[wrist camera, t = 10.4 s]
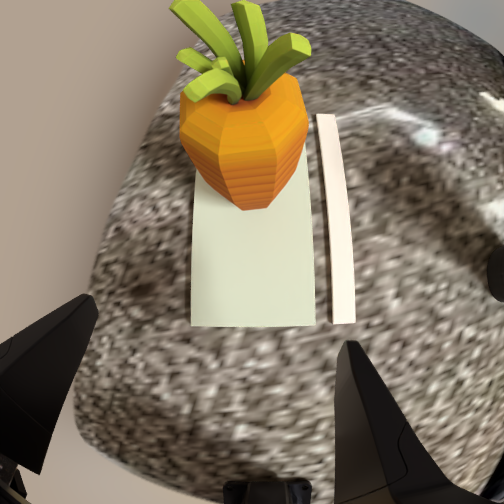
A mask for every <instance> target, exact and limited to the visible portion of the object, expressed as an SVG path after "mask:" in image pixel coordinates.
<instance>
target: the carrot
mask: <svg viewBox="0 0 504 504" xmlns="http://www.w3.org/2000/svg"><path fill="white" fill-rule="evenodd" d="M231 6H232V10H233V13H234V16H235V20H236V23H237V26H238V29H239V32H240V35H241V38H242V42H243V51H244V60H242V58H241V55H240V53H239V51H238V49H237V47H236V45H235V43H234V41H233V39H232V37H231V36H230V34H229V32H228V31H227V30H226V29H225V27H224V26H223V25H222V24H221V22H220V21H219V20H218V19H217V18H216V16H215V15H214V14H213V13H212V12H211V11H210V10H209V9H208V8H207V7H206V6H205V5H204V4H203V3H202V2H201V1H200V0H174V2H173V3H172V4H171V6H170V7H169V9H170V10H171V11H172V12H173V13H174V14H175V15H176V16H177V17H178V18H179V19H180V20H181V21H182V22H183V23H184V24H185V25H186V26H187V27H188V28H189V29H190V30H191V31H193V33H195V34H196V35H197V36H198V37H199V38H200V39H201V40H202V41H203V42H204V43H205V44H206V45H207V46H208V47H209V49H210V50H211V51H212V52H213V54H214V55H215V56H216V59H215V60H213V61H212V60H210V59H209V58H207V57H206V56H204V55H203V54H201V53H199V52H198V51H196V50H195V49H193V48H191V47H189V48H186V49H183V50H180V51H179V53H178V54H177V56H176V58H177V59H178V60H180V61H181V62H183V63H184V64H186V65H188V66H190V67H191V68H193V69H195V70H196V71H198V72H200V73H202V75H200V76H198V77H197V78H195V79H194V80H193V81H191V82H190V83H189V84H188V85H187V86H186V87H185V88H184V89H183V91H182V92H181V93H180V140H181V144H182V145H183V147H184V149H185V150H186V152H187V154H188V155H189V157H190V159H191V161H192V162H193V164H194V166H195V167H196V168H197V170H198V171H199V173H200V174H201V176H202V177H203V179H204V180H205V182H206V183H208V184H209V185H210V186H211V187H212V188H213V189H214V190H215V191H217V192H218V193H219V194H221V195H222V196H223V197H225V198H226V199H227V200H229V201H230V202H231V203H233V204H234V205H235V206H237V207H238V208H239V209H241V210H242V211H247V210H255V209H263V208H267V207H268V206H269V205H270V204H271V202H272V201H273V200H274V199H275V198H276V196H277V195H278V194H279V193H280V192H281V190H282V189H283V188H284V187H285V185H286V184H287V183H288V181H289V180H290V178H291V177H292V175H293V174H294V172H295V171H296V168H297V165H298V162H299V159H300V156H301V153H302V150H303V146H304V143H305V139H306V135H307V132H308V126H309V121H308V117H307V114H306V110H305V106H304V102H303V99H302V95H301V91H300V88H299V84H298V81H297V78H295V77H293V76H291V75H289V74H287V73H285V72H286V71H287V70H289V69H290V68H291V67H293V66H295V65H296V64H298V63H300V62H302V61H304V60H305V59H307V58H308V57H310V56H311V46H310V44H309V41H308V40H307V39H306V38H304V37H302V36H301V35H298V34H294V33H288V34H285V35H283V36H281V37H279V38H278V39H277V40H275V41H274V42H273V43H272V44H271V45H269V46H268V39H267V33H266V27H265V22H264V18H263V15H262V12H261V9H260V6H259V5H256V4H253V3H251V2H248V1H245V0H242V1H239V2H236V3H233V4H231Z"/></svg>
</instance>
